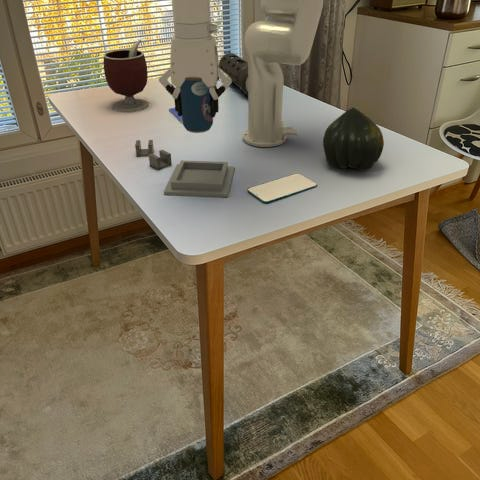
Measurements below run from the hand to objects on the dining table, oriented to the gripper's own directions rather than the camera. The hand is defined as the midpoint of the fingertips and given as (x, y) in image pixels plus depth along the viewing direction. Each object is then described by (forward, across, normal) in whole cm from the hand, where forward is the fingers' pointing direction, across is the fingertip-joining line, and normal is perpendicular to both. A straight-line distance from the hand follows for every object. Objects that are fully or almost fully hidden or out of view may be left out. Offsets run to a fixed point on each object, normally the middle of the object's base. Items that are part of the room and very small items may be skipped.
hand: (197, 114), depth 109 cm
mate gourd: (+17, +33, -54) cm, 66 cm away
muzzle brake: (+17, -3, -76) cm, 78 cm away
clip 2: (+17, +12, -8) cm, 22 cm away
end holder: (+17, 0, 0) cm, 17 cm away
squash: (+17, -37, -13) cm, 43 cm away
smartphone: (+18, -20, +2) cm, 27 cm away
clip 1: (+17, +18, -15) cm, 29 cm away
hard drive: (+18, +12, -46) cm, 51 cm away
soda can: (+4, 0, 0) cm, 4 cm away
